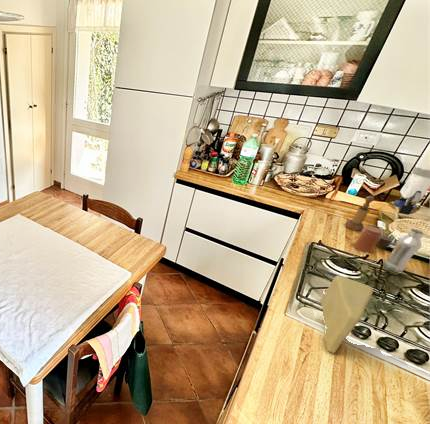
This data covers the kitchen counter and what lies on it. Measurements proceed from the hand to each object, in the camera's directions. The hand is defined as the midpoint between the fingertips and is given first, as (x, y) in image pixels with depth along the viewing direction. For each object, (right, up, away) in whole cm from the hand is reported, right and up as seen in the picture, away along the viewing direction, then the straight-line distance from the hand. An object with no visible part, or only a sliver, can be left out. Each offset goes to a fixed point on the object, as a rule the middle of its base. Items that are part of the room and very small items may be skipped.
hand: (401, 210), depth 134 cm
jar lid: (0, +3, -1) cm, 3 cm away
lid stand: (+1, -17, +9) cm, 19 cm away
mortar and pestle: (+2, -9, +24) cm, 26 cm away
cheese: (-62, -40, -34) cm, 81 cm away
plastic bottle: (-14, -26, -7) cm, 30 cm away
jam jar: (-10, -18, +8) cm, 22 cm away
